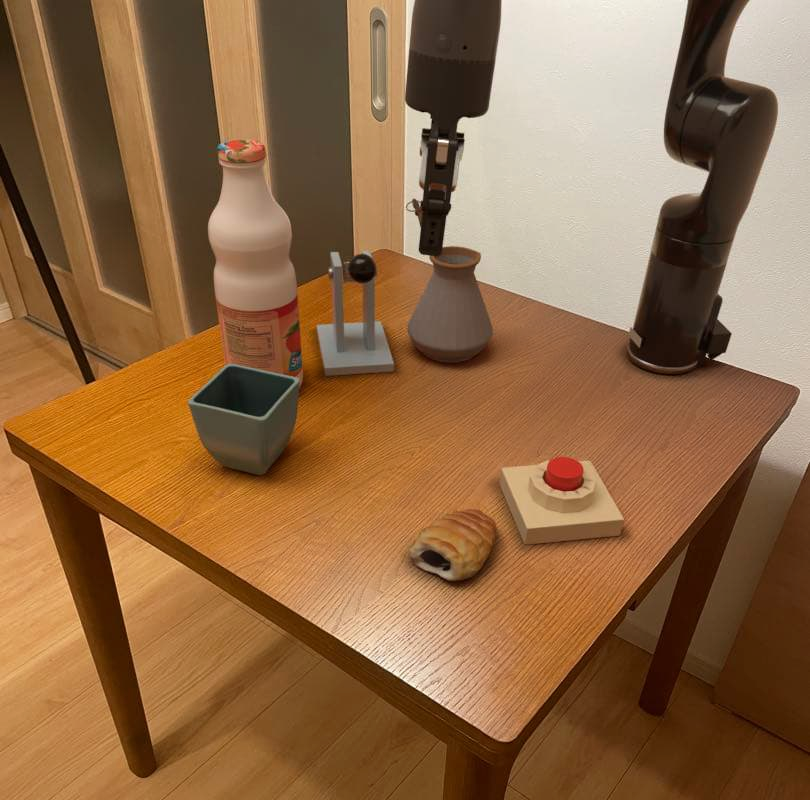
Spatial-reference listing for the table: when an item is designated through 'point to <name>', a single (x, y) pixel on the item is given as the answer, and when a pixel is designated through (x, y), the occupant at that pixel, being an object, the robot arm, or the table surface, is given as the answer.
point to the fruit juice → (254, 266)
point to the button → (564, 474)
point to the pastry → (455, 544)
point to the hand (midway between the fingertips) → (430, 240)
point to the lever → (359, 269)
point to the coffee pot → (450, 307)
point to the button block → (559, 506)
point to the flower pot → (246, 416)
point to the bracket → (353, 333)
